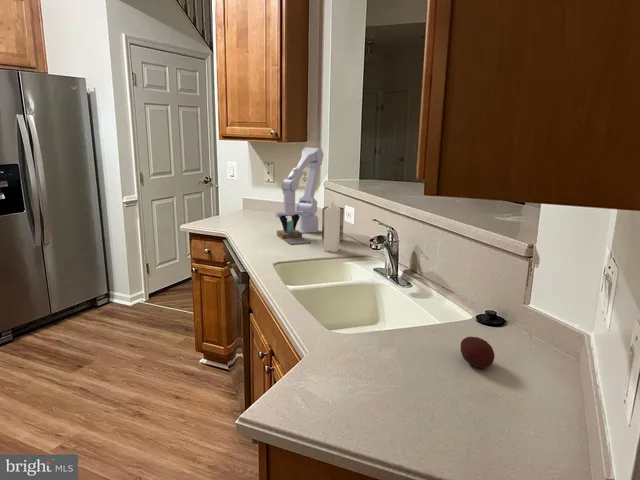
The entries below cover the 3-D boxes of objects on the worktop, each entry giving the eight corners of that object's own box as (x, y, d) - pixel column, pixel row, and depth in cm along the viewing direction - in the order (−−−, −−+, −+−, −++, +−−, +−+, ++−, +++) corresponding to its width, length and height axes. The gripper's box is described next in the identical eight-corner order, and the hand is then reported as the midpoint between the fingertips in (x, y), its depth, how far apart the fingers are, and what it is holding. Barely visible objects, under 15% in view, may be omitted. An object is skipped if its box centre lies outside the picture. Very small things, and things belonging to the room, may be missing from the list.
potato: (471, 375, 104) (474, 350, 103) (451, 354, 114) (453, 331, 113) (501, 372, 106) (504, 348, 104) (479, 352, 115) (481, 329, 114)
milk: (323, 251, 208) (324, 202, 202) (326, 248, 213) (327, 200, 208) (336, 252, 206) (337, 203, 201) (339, 249, 212) (340, 201, 207)
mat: (302, 238, 230) (302, 237, 230) (310, 243, 221) (310, 242, 221) (283, 240, 226) (283, 238, 226) (290, 244, 218) (290, 243, 217)
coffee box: (343, 239, 230) (344, 207, 226) (338, 242, 225) (339, 209, 221) (326, 237, 234) (327, 205, 230) (321, 240, 228) (322, 207, 224)
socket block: (295, 234, 240) (295, 229, 240) (302, 238, 231) (302, 233, 231) (276, 235, 236) (276, 230, 236) (283, 239, 227) (283, 234, 227)
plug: (291, 235, 236) (291, 220, 235) (294, 237, 233) (294, 221, 231) (284, 236, 235) (283, 220, 233) (286, 238, 231) (286, 222, 229)
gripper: (299, 201, 237) (298, 227, 240) (272, 203, 230) (272, 229, 233) (305, 203, 231) (304, 230, 234) (278, 205, 224) (278, 232, 227)
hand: (289, 230), depth 233 cm, fingers closed on plug, 4 cm apart
